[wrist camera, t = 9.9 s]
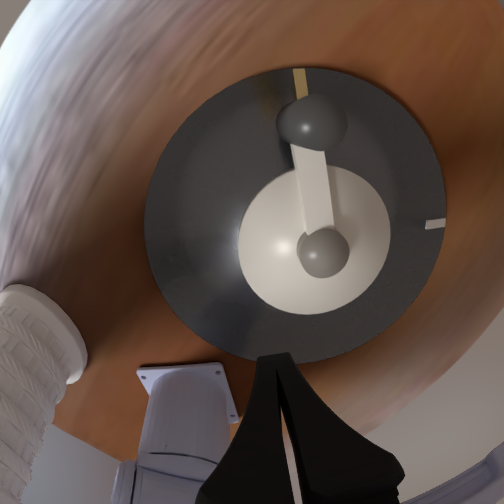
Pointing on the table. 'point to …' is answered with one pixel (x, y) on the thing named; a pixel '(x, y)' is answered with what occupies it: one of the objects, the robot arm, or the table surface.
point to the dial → (313, 220)
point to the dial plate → (253, 179)
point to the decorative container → (31, 378)
